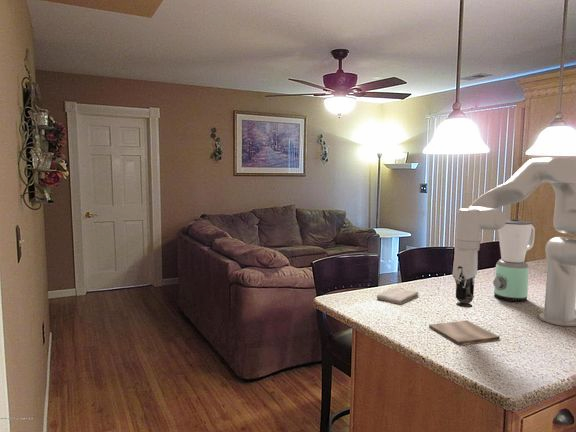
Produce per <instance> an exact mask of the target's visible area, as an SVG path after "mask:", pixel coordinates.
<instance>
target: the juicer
mask: <svg viewBox="0 0 576 432" xmlns="http://www.w3.org/2000/svg"><path fill="white" fill-rule="evenodd" d="M533 224H534V222H532V221H528V220H520V219H516V218H510V219H506V223H505V225H504V226H503V227H502V228H501V229H499V230H497V231H498V241H499V249H500V250H499V251H500V257H501V258H499V260H497V261H496V264H495V271H494V279H493V282H492V284H493V286H494V287H493V294H494V295H493V296H494V297H495V298H499V299H503V300H506V301H507V302H509V303H513V302H514V301H523V302H526V301H527V300H528V299H527V298H528V295H529V294H528V292H529V291H528V290H529V277H530V276H529V275H530V269H529V268H530V267H529V265H528V263H527V262H526V261H525V258H526V254H527V251H529V250H531V249H532V248H533V246H534V244H535V235H536V228H535V226H534V225H533Z"/></svg>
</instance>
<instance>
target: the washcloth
mask: <svg viewBox="0 0 576 432" xmlns="http://www.w3.org/2000/svg"><path fill="white" fill-rule="evenodd" d="M418 294H419V291H416V290H410V289H405V288H402V287H396V286H395V287H393V288H390V287H389V288H388V289H386V290H384V291H381V292H379V293H377V295H376V299H377V300H379V301H383V302H388V303H392V304H397V305H403V304H405V303H407V302H409V301H411V300H412V299H415V298H417V297H419V295H418Z"/></svg>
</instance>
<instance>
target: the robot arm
mask: <svg viewBox="0 0 576 432" xmlns="http://www.w3.org/2000/svg"><path fill="white" fill-rule="evenodd" d="M544 183H549V184H550V185H551V187H552V188H553V189H552V190H554V194H555V202H554V210H553V211H554V212H553V213H554V214H553V229H554V230H555V231H557V232H558V233H561V234H567V235H571V236H576V158H571V157H570V158H569V157H568V158H567V157H556V156H553V157H551V156H550V157H547V156H546V157H533V158H530V159H528V160H527V161H526V162H525V163H524V164H522V166H521V167H520V168H519V169H518V170H517V171H516V172H515V173H513V175H511V176H510V178H509V179H508V180H507V181H505V182H504V183H502V184H499V185H498V186H496V187H494V188H492V189H490V190H488V191H486V192H484V193H483V194H482V195H480V196H478V198H476V199H475V200H474V201H473V202H472V203H471V204H470V205H469V206H468V207H465V208H459V209H458V210H457V211H456V229H455V251H454V257H453V258H454V259H453V265H452V278H453V279H454V281H455V289H456V290H455V299H456V300H457V299H462V300H465V299H466V288H465V286H466V281H467V279H470V284H471V286H470V293H471V294H472V295H474V293H475V292H474V291H475V278H476V276H477V273H478V264H479V262H478V257H479V255H478V253H479V252H478V251H480V243H481V231H482V230H485V231H498V230H499V229H501V228H502V227H503V226H504V225H505V223H506V220H507V216H506V213H505V212H504V211H503V210H501V209H498V208H502V207H504V206H509V205H512V204H513V205H514V204H517V203H519V202H523V201H525V200H526V199H527V198H528V197H529V196H530V195H531V194H532V193H533V192H534V191H535V190H536V189H537V188H538V187H539V186H541V184H544ZM545 257H546V268H547V269H546V282H545V296H544V297H545V298H544V311H543V312H541V313H539V315H538V317H539V319H540V320H541V321H543V322H545V323H548V324H552V325H554V326H555V325H556V326H560V327H575V326H576V268H575V267H576V238H572V237H566V236H554V237H552V238H551V239H549V240H548V241H547V242H546V244H545ZM461 277H464V279H463V278H461ZM461 280H462V281H463V283H462V281H461Z"/></svg>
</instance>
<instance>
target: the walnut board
mask: <svg viewBox="0 0 576 432" xmlns="http://www.w3.org/2000/svg"><path fill="white" fill-rule="evenodd" d="M428 328H429V329H431V330H433V331H434V332H437V333H438V334H440V335H441V336H443V337H444V338H446V339H448V340H449V341H452V342H453V343H454V344H456V345H458V346H461V345H468V344H474V343H475V344H476V343H485V342H491V341H498V340H500V336H499V335H497V334H495V333H493V332H491V331H489V330H488V329H486V328H483V327H481V326H479V325H477V324H475V323H473V322H471V321H469V320H459V321H458V320H457V321H449V322H441V323H433V324H429V325H428Z"/></svg>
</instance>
